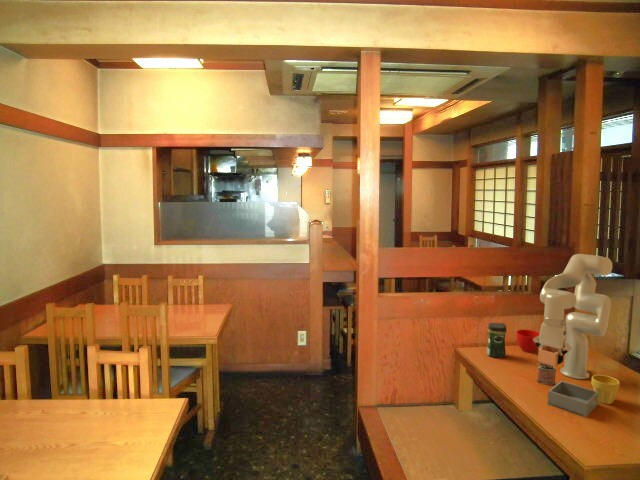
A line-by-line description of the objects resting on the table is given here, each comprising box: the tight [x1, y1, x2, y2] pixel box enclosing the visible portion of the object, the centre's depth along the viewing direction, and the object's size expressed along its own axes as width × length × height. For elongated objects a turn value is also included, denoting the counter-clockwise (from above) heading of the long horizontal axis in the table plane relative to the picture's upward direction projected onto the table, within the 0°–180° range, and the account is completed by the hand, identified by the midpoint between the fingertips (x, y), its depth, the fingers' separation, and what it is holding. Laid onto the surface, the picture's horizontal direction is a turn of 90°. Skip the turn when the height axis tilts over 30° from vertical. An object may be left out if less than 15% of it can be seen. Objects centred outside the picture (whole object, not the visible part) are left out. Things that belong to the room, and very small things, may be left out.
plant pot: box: [591, 374, 621, 405], centre depth 193 cm, size 10×10×10 cm
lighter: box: [535, 362, 557, 386], centre depth 210 cm, size 8×3×10 cm, turn 71°
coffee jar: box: [486, 322, 507, 358], centre depth 243 cm, size 10×8×19 cm
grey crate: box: [546, 380, 599, 418], centre depth 189 cm, size 15×15×6 cm
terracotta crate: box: [537, 346, 560, 368], centre depth 193 cm, size 9×7×6 cm
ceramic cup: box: [515, 329, 540, 353], centre depth 251 cm, size 13×17×10 cm
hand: (550, 360), depth 193 cm, fingers closed on terracotta crate, 7 cm apart
